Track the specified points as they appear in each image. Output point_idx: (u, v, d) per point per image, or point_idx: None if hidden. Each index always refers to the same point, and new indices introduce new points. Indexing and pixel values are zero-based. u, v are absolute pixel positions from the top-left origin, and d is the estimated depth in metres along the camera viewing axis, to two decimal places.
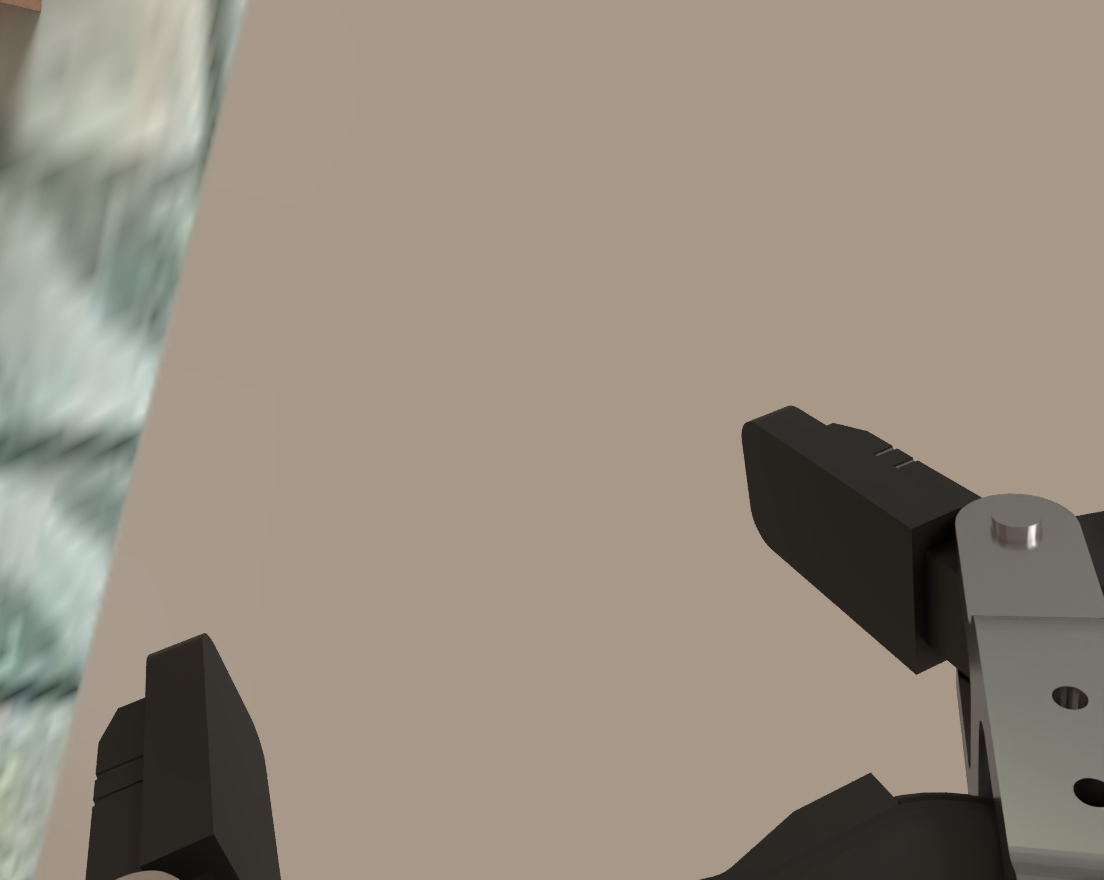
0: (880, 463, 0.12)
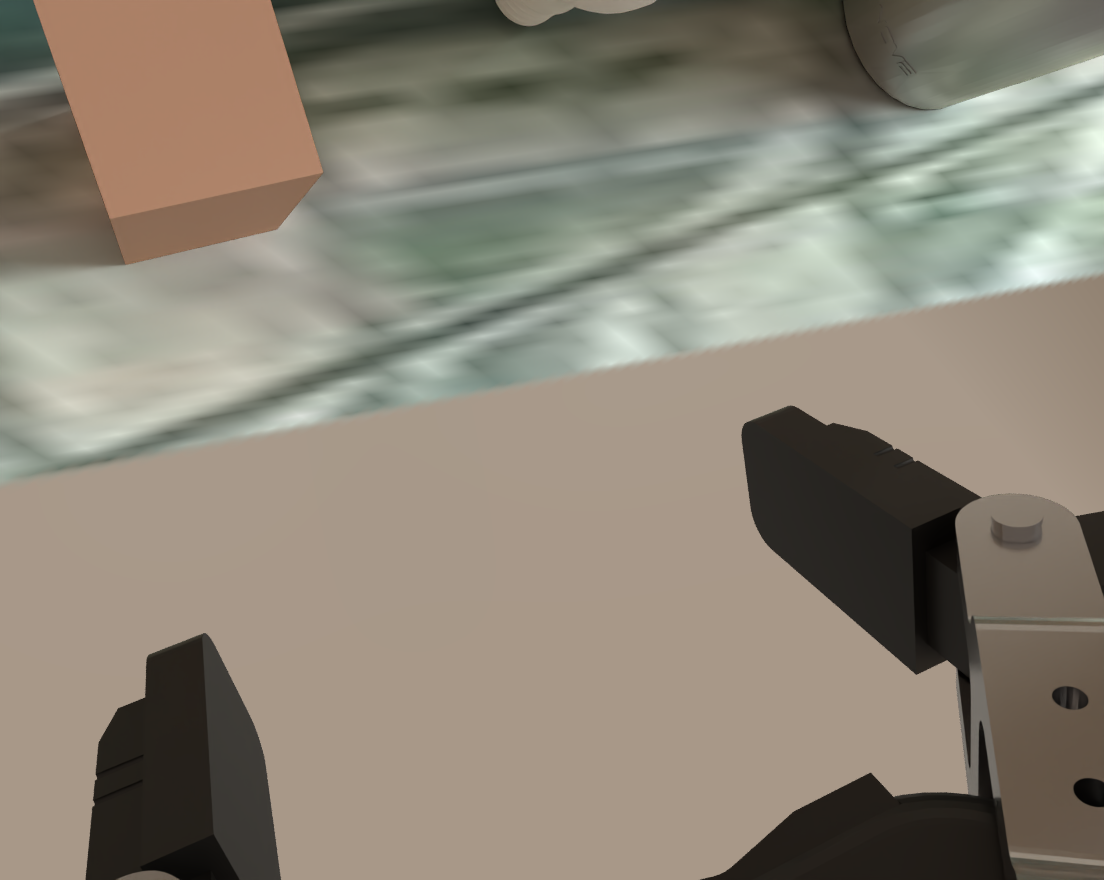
0: (880, 463, 0.12)
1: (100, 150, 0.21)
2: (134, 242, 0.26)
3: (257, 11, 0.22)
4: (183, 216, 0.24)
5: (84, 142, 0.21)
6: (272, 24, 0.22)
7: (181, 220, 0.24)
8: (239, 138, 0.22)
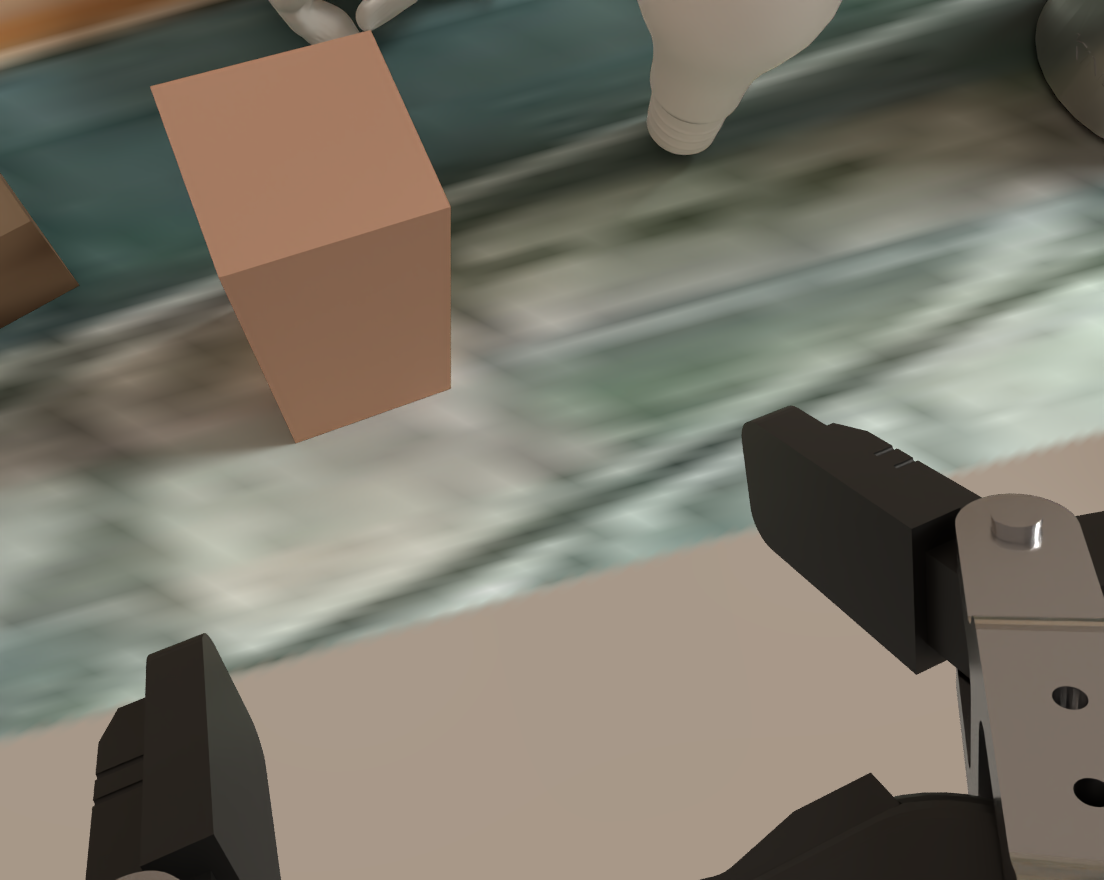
0: (880, 463, 0.12)
1: (211, 213, 0.19)
2: (280, 371, 0.24)
3: (371, 71, 0.21)
4: (313, 301, 0.21)
5: (195, 208, 0.19)
6: (387, 79, 0.21)
7: (316, 315, 0.22)
8: (357, 185, 0.20)
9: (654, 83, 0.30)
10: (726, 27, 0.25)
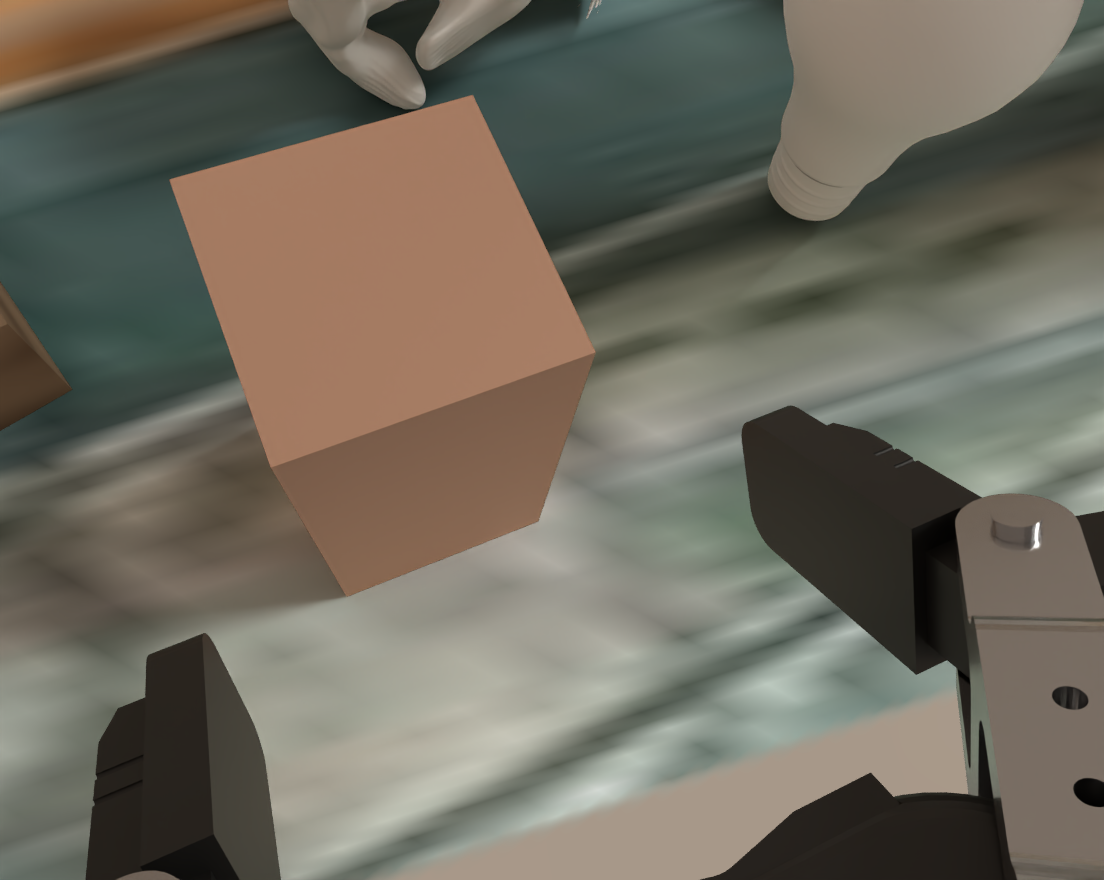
0: (880, 463, 0.12)
1: (259, 367, 0.13)
2: (339, 541, 0.18)
3: (476, 153, 0.15)
4: (394, 471, 0.15)
5: (235, 361, 0.13)
6: (498, 166, 0.15)
7: (394, 484, 0.16)
8: (462, 322, 0.14)
9: (789, 138, 0.24)
10: (923, 80, 0.19)
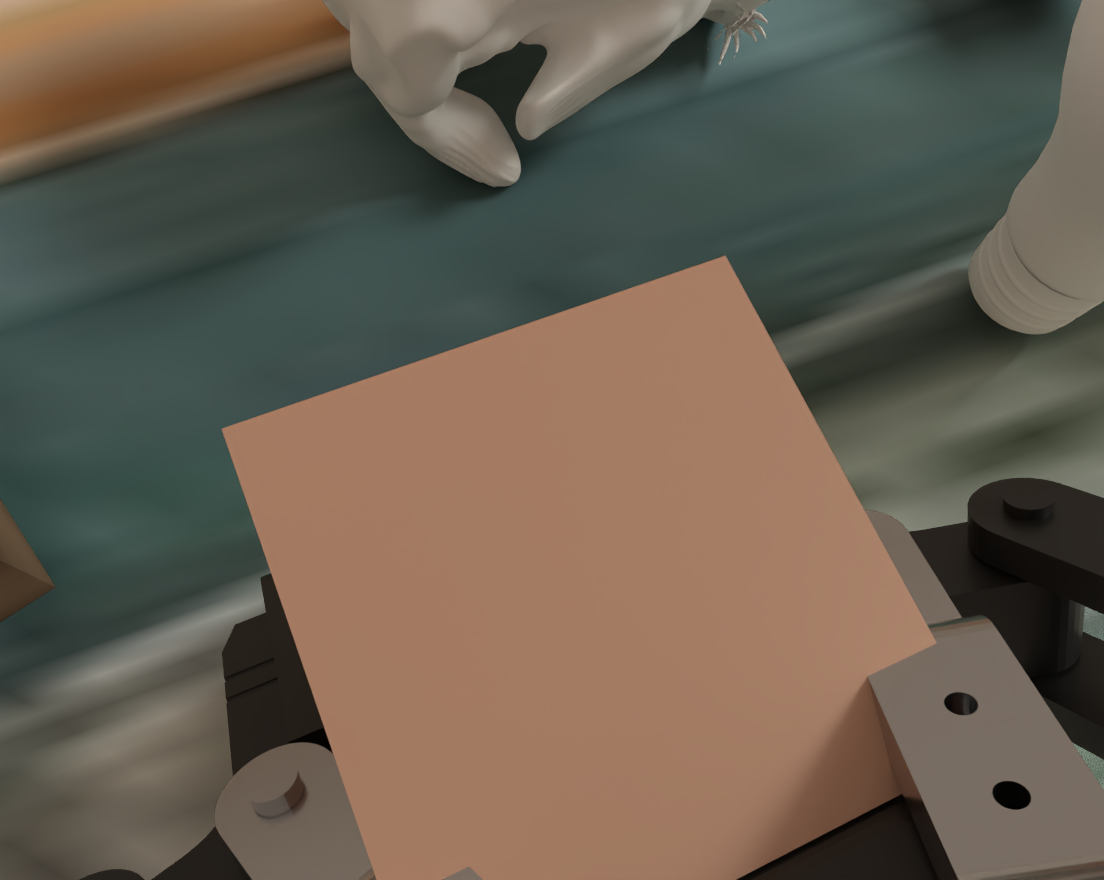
0: None
1: (397, 811, 0.07)
2: None
3: (743, 363, 0.09)
4: None
5: (353, 799, 0.07)
6: (782, 385, 0.09)
7: None
8: (756, 695, 0.08)
9: (1027, 237, 0.18)
10: None
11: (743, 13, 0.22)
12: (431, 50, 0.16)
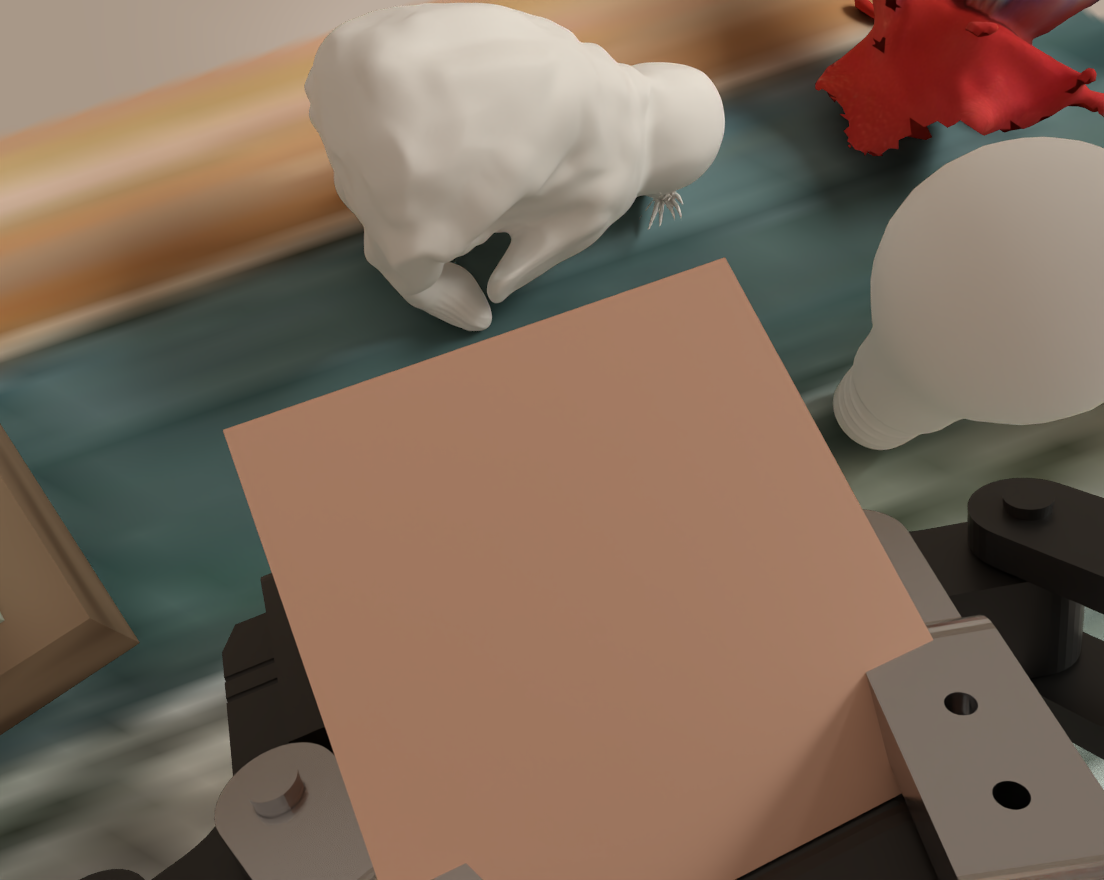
0: None
1: (396, 812, 0.07)
2: None
3: (742, 364, 0.09)
4: None
5: (354, 799, 0.07)
6: (782, 386, 0.09)
7: None
8: (755, 695, 0.08)
9: (863, 387, 0.24)
10: (1021, 399, 0.19)
11: (665, 195, 0.28)
12: (424, 263, 0.22)
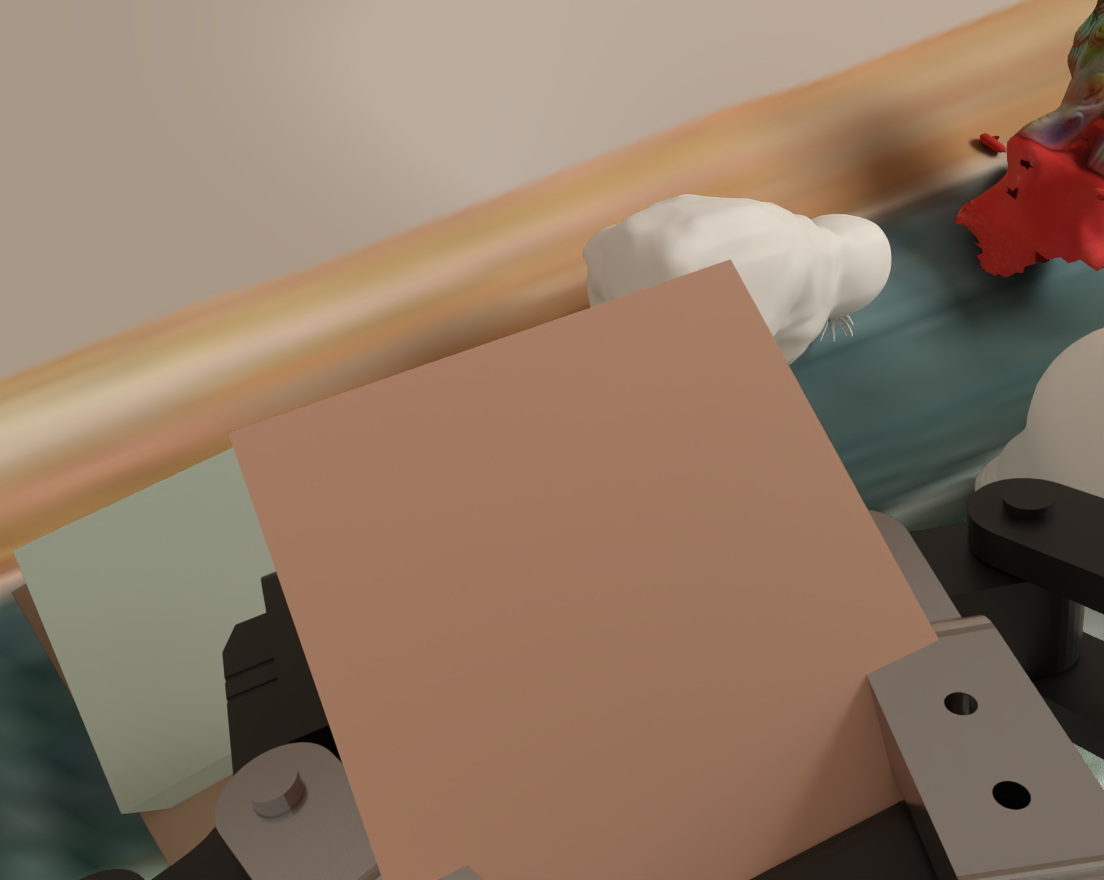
0: None
1: (405, 815, 0.07)
2: None
3: (748, 367, 0.09)
4: None
5: (360, 803, 0.07)
6: (788, 389, 0.09)
7: None
8: (763, 699, 0.08)
9: None
10: None
11: None
12: None
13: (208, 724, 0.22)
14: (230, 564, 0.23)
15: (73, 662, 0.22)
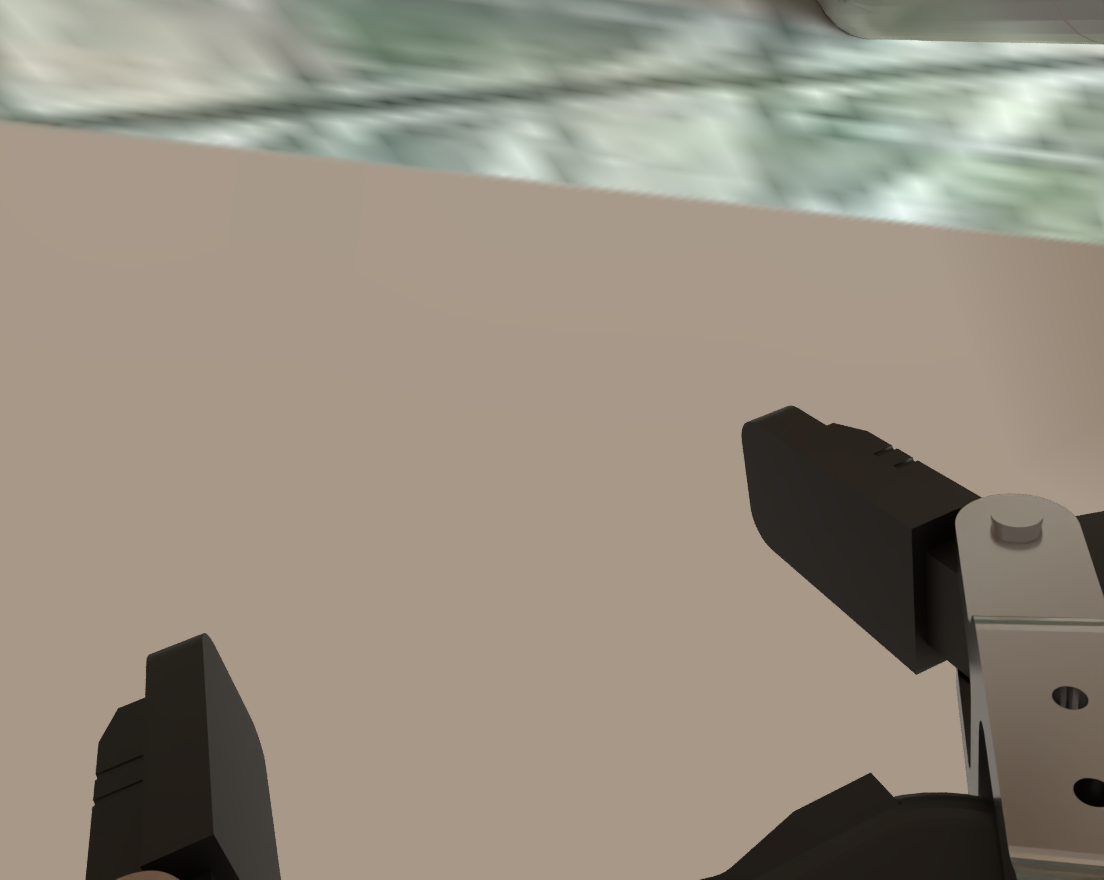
0: (880, 463, 0.12)
1: None
2: None
3: None
4: None
5: None
6: None
7: None
8: None
9: None
10: None
11: None
12: None
13: None
14: None
15: None
